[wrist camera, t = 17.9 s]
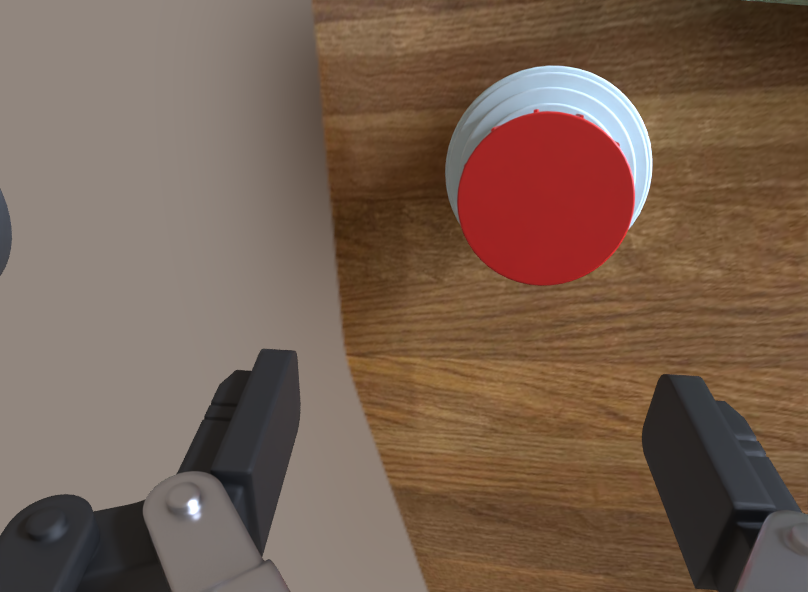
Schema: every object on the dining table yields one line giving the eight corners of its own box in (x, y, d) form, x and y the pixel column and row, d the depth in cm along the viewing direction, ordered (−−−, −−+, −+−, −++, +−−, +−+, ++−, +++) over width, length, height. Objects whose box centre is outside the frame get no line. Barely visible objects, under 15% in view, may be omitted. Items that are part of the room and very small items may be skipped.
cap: (464, 244, 17) (446, 271, 14) (483, 102, 16) (469, 101, 13) (602, 265, 17) (614, 299, 14) (634, 119, 15) (654, 122, 12)
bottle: (477, 199, 34) (392, 308, 15) (495, 77, 32) (420, 33, 13) (596, 215, 33) (658, 355, 14) (622, 90, 31) (733, 62, 12)
